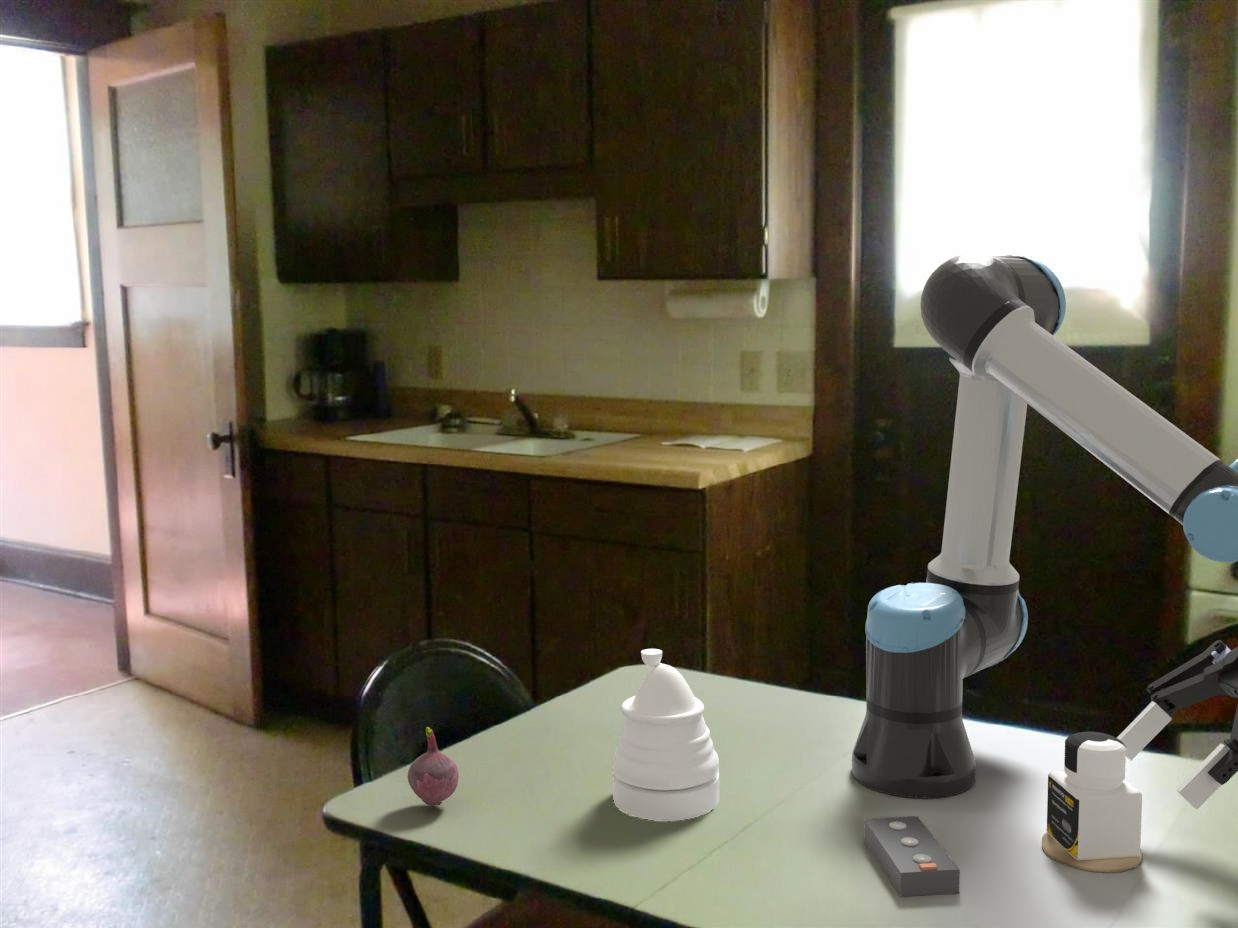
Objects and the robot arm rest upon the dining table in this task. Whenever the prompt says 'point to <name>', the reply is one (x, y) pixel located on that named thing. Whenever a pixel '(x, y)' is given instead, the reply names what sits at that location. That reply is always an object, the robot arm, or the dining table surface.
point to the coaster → (1098, 865)
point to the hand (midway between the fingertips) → (1151, 774)
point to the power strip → (911, 856)
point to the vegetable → (433, 774)
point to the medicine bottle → (1094, 800)
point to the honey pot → (665, 750)
